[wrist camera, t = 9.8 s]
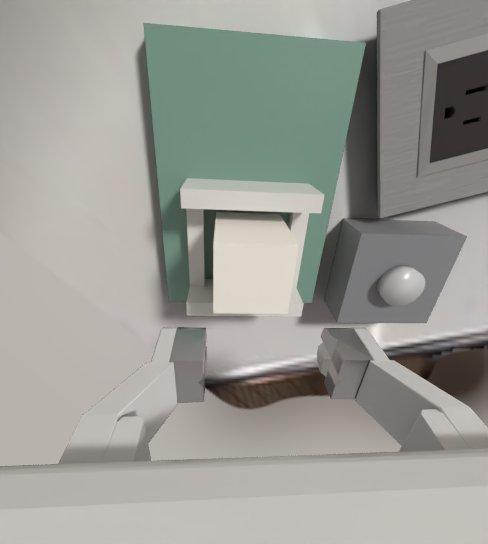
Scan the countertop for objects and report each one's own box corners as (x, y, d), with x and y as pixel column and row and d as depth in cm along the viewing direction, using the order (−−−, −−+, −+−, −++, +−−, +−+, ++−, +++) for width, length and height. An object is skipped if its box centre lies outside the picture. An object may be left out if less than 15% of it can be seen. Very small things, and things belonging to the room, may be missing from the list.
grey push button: (343, 218, 20) (367, 238, 16) (435, 221, 20) (477, 241, 17) (324, 299, 23) (341, 329, 20) (403, 300, 24) (433, 330, 20)
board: (149, 30, 14) (123, -3, 10) (356, 48, 15) (399, 24, 11) (171, 293, 22) (160, 327, 18) (307, 294, 23) (323, 328, 19)
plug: (216, 212, 17) (213, 243, 13) (280, 214, 17) (298, 245, 13) (215, 276, 19) (213, 321, 15) (272, 276, 19) (286, 321, 15)
